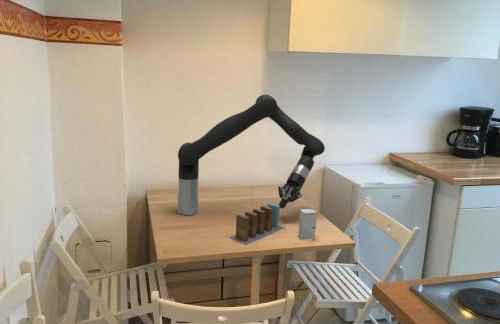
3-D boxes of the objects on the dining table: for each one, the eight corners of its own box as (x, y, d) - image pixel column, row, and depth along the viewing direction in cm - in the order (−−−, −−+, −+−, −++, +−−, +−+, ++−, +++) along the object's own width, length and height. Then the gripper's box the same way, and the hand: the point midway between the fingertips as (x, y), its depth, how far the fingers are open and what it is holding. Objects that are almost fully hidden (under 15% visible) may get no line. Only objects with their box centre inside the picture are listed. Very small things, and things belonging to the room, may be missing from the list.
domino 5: (269, 224, 190) (270, 202, 187) (278, 227, 187) (279, 205, 184) (266, 225, 188) (267, 203, 186) (275, 228, 185) (276, 206, 183)
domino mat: (268, 222, 193) (268, 221, 193) (285, 228, 186) (285, 227, 186) (227, 238, 174) (228, 237, 174) (245, 246, 168) (245, 245, 167)
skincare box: (301, 240, 175) (303, 213, 172) (297, 236, 179) (299, 209, 176) (315, 239, 176) (317, 212, 173) (311, 235, 180) (313, 208, 177)
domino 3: (255, 230, 182) (255, 208, 180) (263, 233, 179) (264, 211, 177) (252, 231, 181) (252, 209, 179) (260, 234, 178) (261, 212, 175)
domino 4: (262, 227, 186) (263, 205, 184) (271, 230, 183) (272, 208, 180) (259, 228, 185) (260, 206, 182) (268, 231, 181) (269, 209, 179)
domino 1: (239, 236, 175) (239, 213, 173) (248, 240, 172) (248, 217, 170) (235, 238, 174) (236, 215, 171) (244, 241, 170) (245, 218, 168)
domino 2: (247, 233, 179) (248, 210, 176) (256, 236, 176) (257, 214, 173) (244, 234, 177) (244, 212, 175) (252, 238, 174) (253, 215, 172)
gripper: (283, 169, 197) (265, 199, 191) (307, 174, 189) (289, 207, 183) (290, 178, 202) (272, 208, 196) (313, 183, 194) (296, 215, 188)
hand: (280, 207), depth 190 cm, fingers closed
